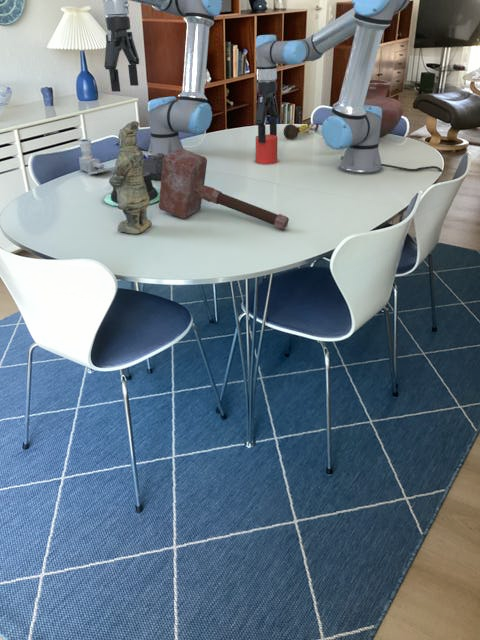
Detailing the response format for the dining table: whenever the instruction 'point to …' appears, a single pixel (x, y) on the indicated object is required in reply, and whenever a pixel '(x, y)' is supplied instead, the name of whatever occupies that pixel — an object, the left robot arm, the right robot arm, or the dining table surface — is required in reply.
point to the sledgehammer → (200, 190)
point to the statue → (131, 182)
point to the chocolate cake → (152, 192)
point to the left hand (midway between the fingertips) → (125, 88)
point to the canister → (267, 150)
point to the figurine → (297, 130)
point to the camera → (90, 159)
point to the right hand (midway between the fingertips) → (267, 139)
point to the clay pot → (384, 105)
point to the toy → (154, 165)
